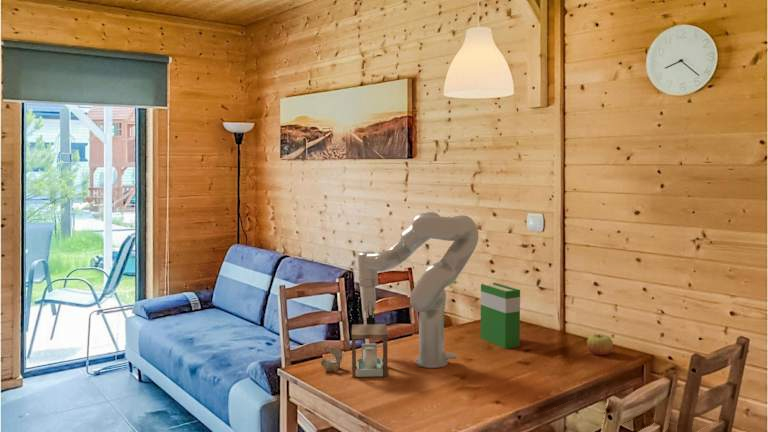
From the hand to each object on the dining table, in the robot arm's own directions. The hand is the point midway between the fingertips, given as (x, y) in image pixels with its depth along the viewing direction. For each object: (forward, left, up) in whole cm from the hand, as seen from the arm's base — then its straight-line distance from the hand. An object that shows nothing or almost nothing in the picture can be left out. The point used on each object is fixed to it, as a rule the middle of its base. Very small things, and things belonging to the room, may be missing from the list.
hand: (370, 326), depth 251 cm
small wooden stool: (+1, +21, -11) cm, 24 cm away
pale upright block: (+1, +21, -10) cm, 23 cm away
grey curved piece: (+15, +20, -11) cm, 27 cm away
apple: (-92, +5, -11) cm, 93 cm away
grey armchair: (+1, +16, -11) cm, 19 cm away
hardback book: (-56, -13, -11) cm, 58 cm away
